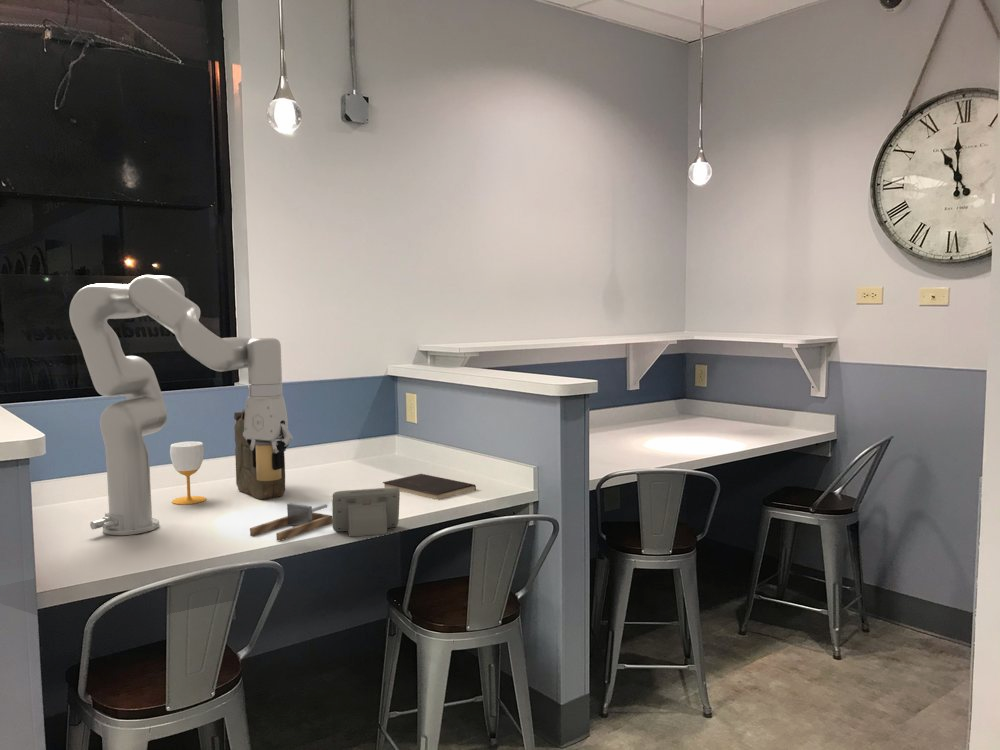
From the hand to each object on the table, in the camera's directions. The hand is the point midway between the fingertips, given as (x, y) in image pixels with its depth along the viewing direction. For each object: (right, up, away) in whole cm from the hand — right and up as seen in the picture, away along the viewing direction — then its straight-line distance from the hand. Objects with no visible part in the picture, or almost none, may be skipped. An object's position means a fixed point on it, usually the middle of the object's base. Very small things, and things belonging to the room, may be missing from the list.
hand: (268, 466), depth 192 cm
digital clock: (+22, -16, +5) cm, 28 cm away
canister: (-15, -13, +45) cm, 49 cm away
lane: (+4, -16, +7) cm, 18 cm away
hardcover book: (+33, -13, +49) cm, 61 cm away
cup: (-33, -14, +36) cm, 51 cm away
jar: (0, -3, 0) cm, 3 cm away
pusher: (+7, -15, +13) cm, 21 cm away
